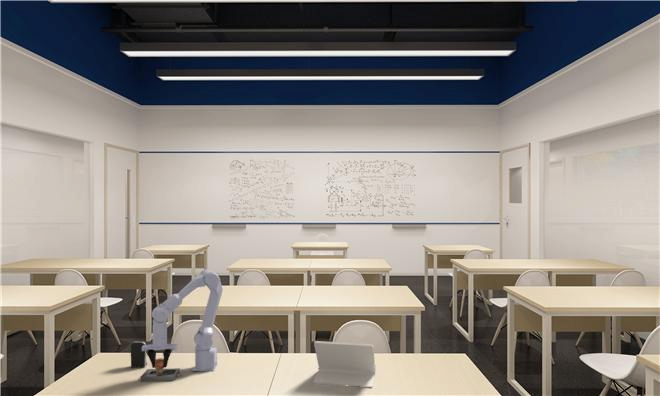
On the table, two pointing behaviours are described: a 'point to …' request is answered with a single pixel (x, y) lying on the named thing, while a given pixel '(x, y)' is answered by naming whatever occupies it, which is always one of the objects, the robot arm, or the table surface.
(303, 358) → the table surface
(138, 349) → the battery charger
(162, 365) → the peg
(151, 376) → the keyhole plate
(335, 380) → the tablet stand
